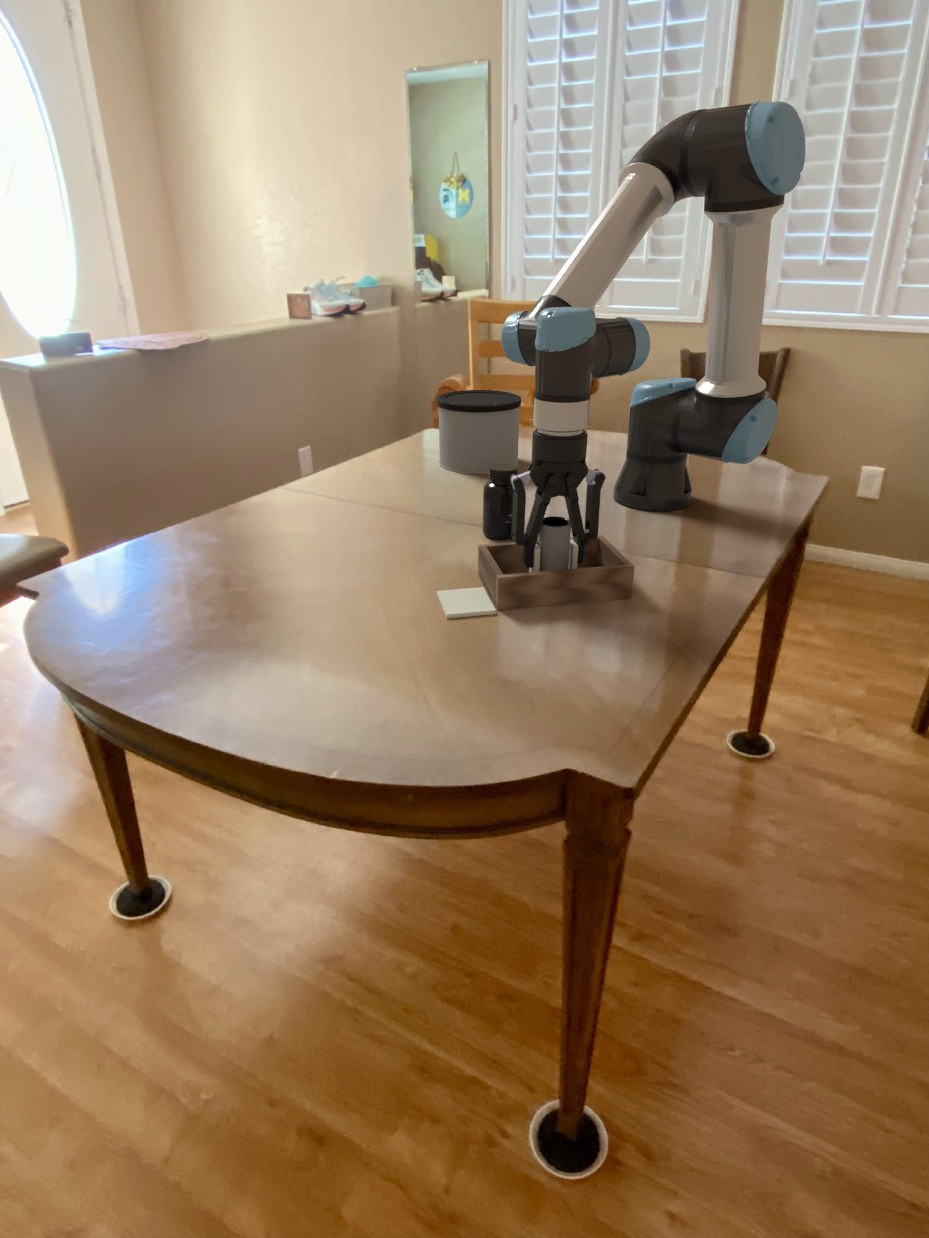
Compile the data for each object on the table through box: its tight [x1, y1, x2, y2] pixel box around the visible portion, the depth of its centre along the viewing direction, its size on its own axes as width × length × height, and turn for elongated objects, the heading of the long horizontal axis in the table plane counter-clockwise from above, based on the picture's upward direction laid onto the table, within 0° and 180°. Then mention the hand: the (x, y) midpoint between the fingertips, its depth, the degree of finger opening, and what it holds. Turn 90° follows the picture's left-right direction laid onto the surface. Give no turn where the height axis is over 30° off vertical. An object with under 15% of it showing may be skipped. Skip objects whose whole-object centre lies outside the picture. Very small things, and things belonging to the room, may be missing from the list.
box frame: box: [477, 534, 635, 611], centre depth 114 cm, size 20×13×5 cm, turn 101°
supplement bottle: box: [482, 464, 519, 541], centre depth 133 cm, size 7×7×12 cm
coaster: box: [436, 586, 497, 619], centre depth 109 cm, size 7×8×1 cm
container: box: [436, 389, 522, 475], centre depth 174 cm, size 19×19×15 cm
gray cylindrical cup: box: [538, 515, 572, 572], centre depth 113 cm, size 4×4×10 cm
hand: (552, 584), depth 115 cm, fingers open, 5 cm apart
